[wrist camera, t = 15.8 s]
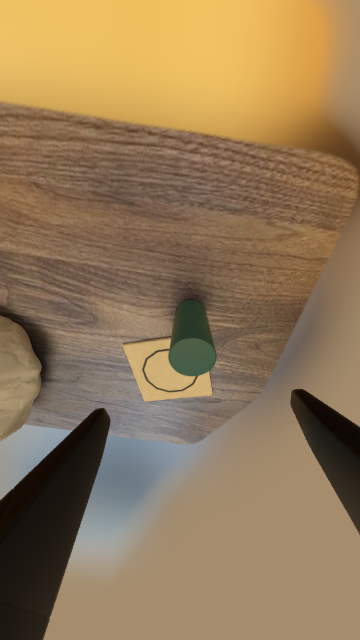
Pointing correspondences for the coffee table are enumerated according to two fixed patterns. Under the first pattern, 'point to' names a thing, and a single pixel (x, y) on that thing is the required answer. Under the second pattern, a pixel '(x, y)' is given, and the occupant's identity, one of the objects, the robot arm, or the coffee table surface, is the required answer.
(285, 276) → the coffee table surface
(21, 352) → the decorative stone
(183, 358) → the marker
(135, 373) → the sketch card
